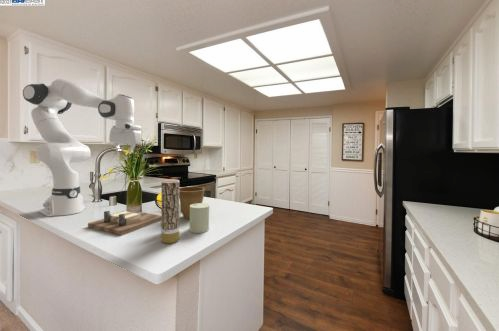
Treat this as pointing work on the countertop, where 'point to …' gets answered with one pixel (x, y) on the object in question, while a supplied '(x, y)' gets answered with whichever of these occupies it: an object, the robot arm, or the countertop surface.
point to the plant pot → (190, 198)
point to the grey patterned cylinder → (170, 211)
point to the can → (199, 217)
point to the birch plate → (129, 217)
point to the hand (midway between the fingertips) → (124, 152)
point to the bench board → (122, 229)
